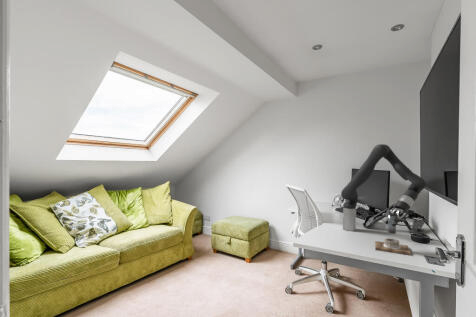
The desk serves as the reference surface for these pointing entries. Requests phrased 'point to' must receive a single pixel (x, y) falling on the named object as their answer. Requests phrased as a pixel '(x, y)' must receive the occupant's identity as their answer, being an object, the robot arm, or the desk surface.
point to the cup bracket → (392, 246)
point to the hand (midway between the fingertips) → (389, 224)
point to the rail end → (390, 220)
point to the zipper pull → (415, 227)
